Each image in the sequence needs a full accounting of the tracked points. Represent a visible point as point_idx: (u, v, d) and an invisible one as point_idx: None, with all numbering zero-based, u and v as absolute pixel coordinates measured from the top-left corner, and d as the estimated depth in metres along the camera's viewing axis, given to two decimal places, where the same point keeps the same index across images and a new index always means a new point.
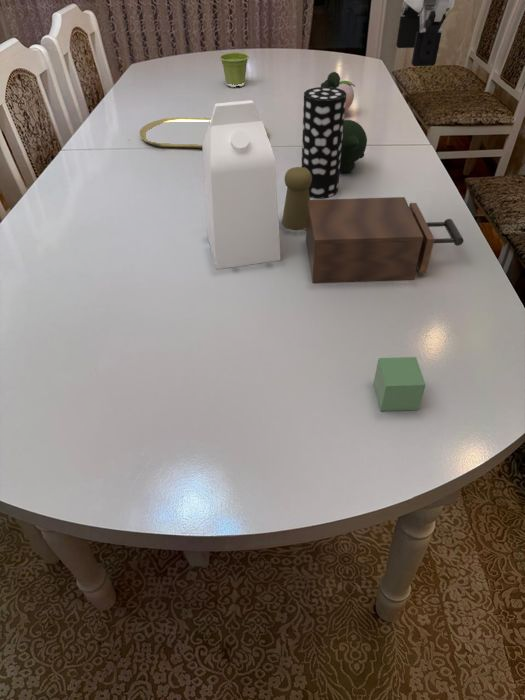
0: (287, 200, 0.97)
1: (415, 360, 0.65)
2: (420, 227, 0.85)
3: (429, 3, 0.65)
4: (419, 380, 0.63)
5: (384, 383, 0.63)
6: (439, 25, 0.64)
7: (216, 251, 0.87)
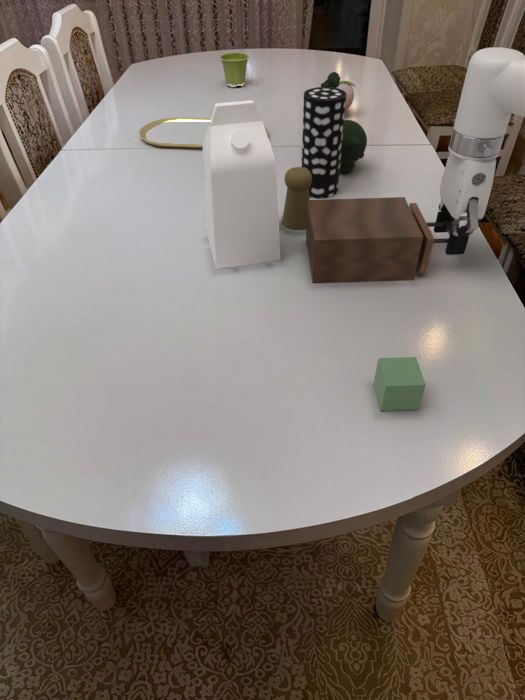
0: (287, 200, 0.97)
1: (415, 360, 0.65)
2: (420, 227, 0.85)
3: (463, 212, 0.82)
4: (419, 380, 0.63)
5: (384, 383, 0.63)
6: (468, 234, 0.81)
7: (216, 251, 0.87)
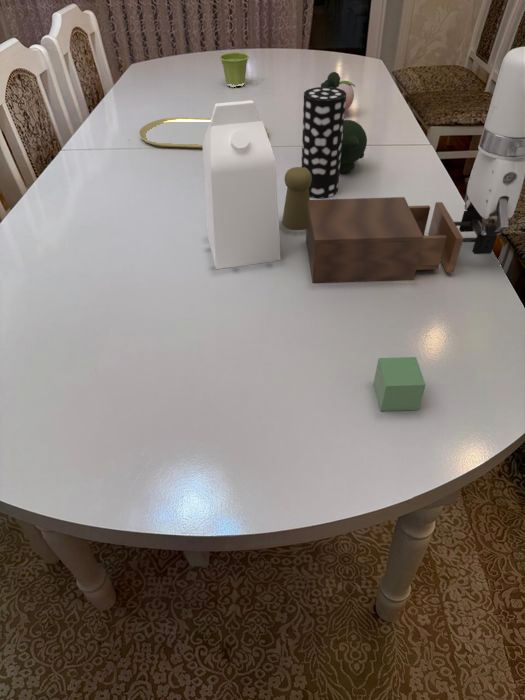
0: (287, 200, 0.97)
1: (415, 360, 0.65)
2: (448, 226, 0.85)
3: (492, 211, 0.82)
4: (419, 380, 0.63)
5: (384, 383, 0.63)
6: (497, 233, 0.81)
7: (216, 251, 0.87)
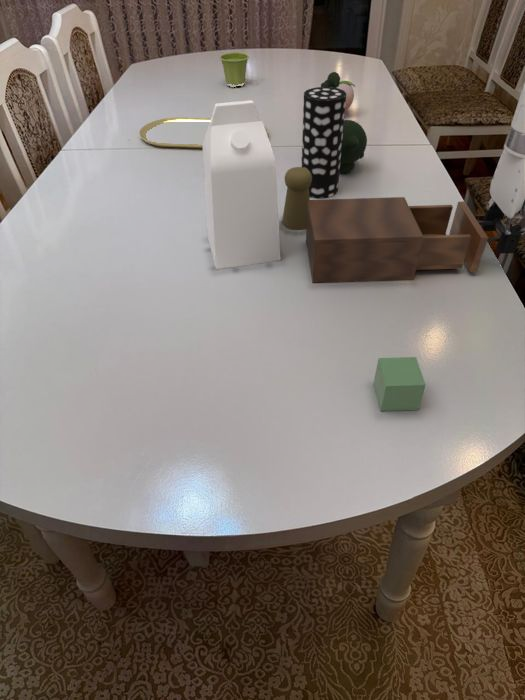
0: (287, 200, 0.97)
1: (415, 360, 0.65)
2: (471, 225, 0.85)
3: None
4: (419, 380, 0.63)
5: (384, 383, 0.63)
6: (522, 232, 0.81)
7: (216, 251, 0.87)
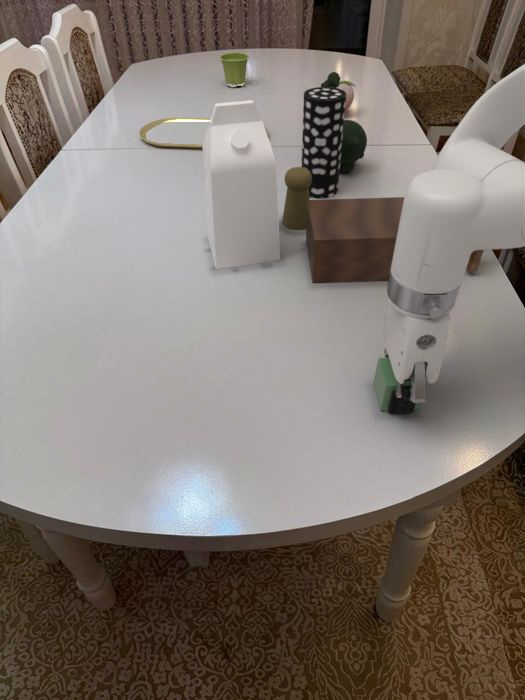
0: (287, 200, 0.97)
1: None
2: None
3: None
4: None
5: (384, 383, 0.63)
6: None
7: (216, 251, 0.87)
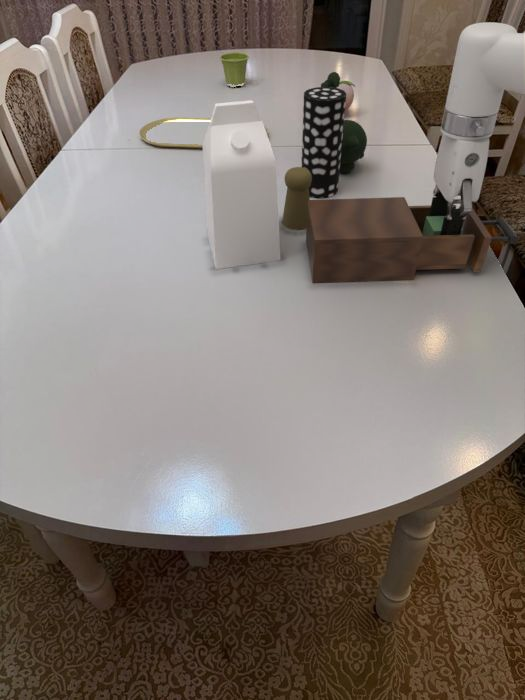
0: (287, 200, 0.97)
1: None
2: (475, 225, 0.85)
3: (458, 195, 0.79)
4: None
5: (432, 230, 0.85)
6: (463, 217, 0.79)
7: (216, 251, 0.87)
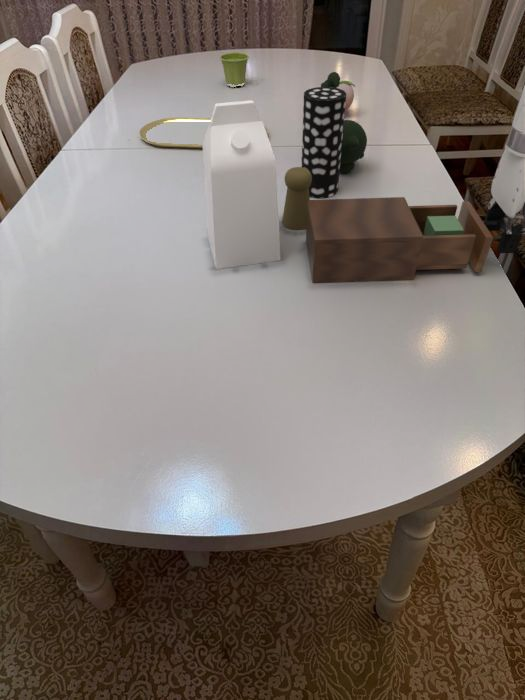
0: (287, 200, 0.97)
1: (455, 217, 0.88)
2: (476, 225, 0.85)
3: None
4: (459, 227, 0.85)
5: (433, 230, 0.85)
6: (523, 232, 0.81)
7: (216, 251, 0.87)
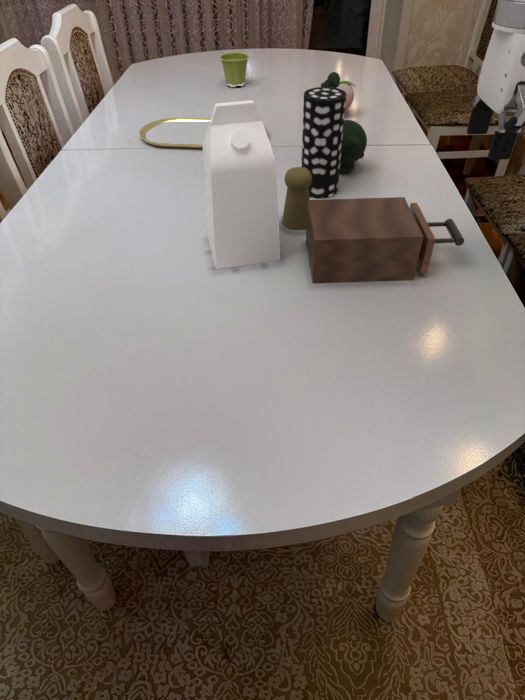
0: (287, 200, 0.97)
1: None
2: (421, 227, 0.85)
3: (507, 105, 0.70)
4: None
5: None
6: (519, 128, 0.69)
7: (216, 251, 0.87)
